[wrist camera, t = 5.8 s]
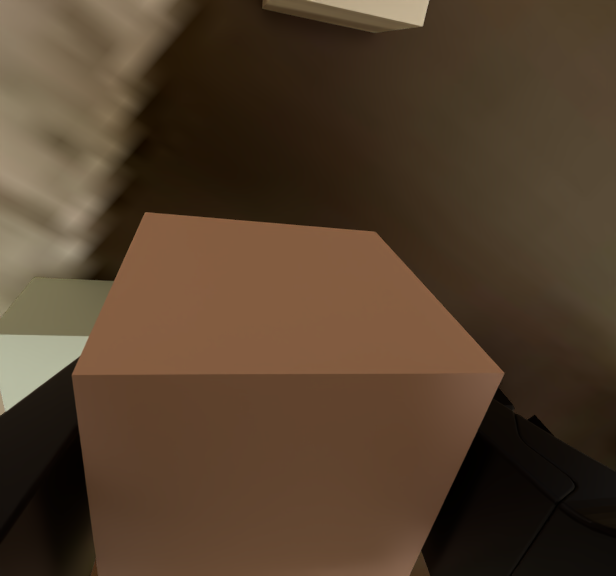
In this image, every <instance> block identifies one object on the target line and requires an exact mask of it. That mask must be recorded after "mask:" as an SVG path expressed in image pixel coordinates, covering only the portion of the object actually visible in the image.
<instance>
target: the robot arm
mask: <svg viewBox="0 0 616 576" xmlns="http://www.w3.org/2000/svg"><path fill="white" fill-rule="evenodd" d="M79 358H80V356H79V357H78V358H77V359H75V360H74V361H73V362H71V363H70V364H69V365H67V366H66V367H65V368H63V369H62V370H61V371H59V372H58V373H57V374H55V375H54V376H53V377H51V378H50V379H49V380H47V381H46V382H45V383H43V384H42V385H41V386H39V387H38V388H37V389H35V390H34V391H33V392H31V393H30V394H29V395H27V396H26V397H25V398H23V399H22V400H21V401H19V402H18V403H17V404H15V405H14V406H13V407H11V408H10V409H9V410H7V411H6V412H5V413H3V414H2V415H1V416H0V576H90V575H91V572H92V568H93V565H94V562H95V558H96V555H95V548H94V540H93V532H92V525H91V517H90V510H89V502H88V495H87V487H86V479H85V472H84V464H83V457H82V449H81V442H80V434H79V427H78V419H77V411H76V404H75V396H74V389H73V381H72V373H73V371H74V369H75V366H76V364H77V362H78V360H79ZM513 411H514V406H513V405H512V403H511V402H510V401H509V400H508V399H507V397H506V396H505V395H504V394H503V393H502V391H501V390H500V389H499V388H497V390H496V392H495V394H494V397H493V399H492V401H491V403H490V405H489V407H488V409H487V411H486V414H485V416H484V418H483V420H482V422H481V424H480V426H479V428H478V431H477V433H476V435H475V437H474V439H473V441H472V443H471V445H470V447H469V450H468V452H467V454H466V456H465V458H464V460H463V462H462V464H461V467H460V469H459V471H458V473H457V475H456V477H455V479H454V481H453V484H452V486H451V488H450V490H449V492H448V494H447V496H446V498H445V500H444V503H443V505H442V507H441V509H440V511H439V513H438V515H437V517H436V520H435V522H434V524H433V526H432V528H431V530H430V532H429V534H428V537H427V539H426V541H425V543H424V545H423V547H422V549H421V551H422V554H423V557H424V559H425V562H426V565H427V568H428V570H429V573H430V576H616V471H614V470H613V469H611V468H609V467H607V466H605V465H603V464H602V463H600V462H598V461H596V460H594V459H593V458H591V457H589V456H587V455H585V454H584V453H582V452H580V451H578V450H577V449H575V448H573V447H571V446H570V445H568V444H566V443H564V442H563V441H561V440H559V439H557V438H556V437H554V435H553V434H552V433H551V432H550V431H549V430H548V429H547V428H546V427H545V426H544V425H543V423H542V422H541V421H540V420H539V419H538V418H537V417H536V416H535V415H534V416H532V417H531V418H529V419H528V420H526V419H525V418H523V417H522V416H520V415H518V414H515V413H514V412H513Z"/></svg>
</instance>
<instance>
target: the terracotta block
mask: <svg viewBox="0 0 616 576" xmlns="http://www.w3.org/2000/svg"><path fill="white" fill-rule="evenodd" d="M503 375H504V372H503V371H502V370H501V369H500V368H499V367H498V366H497V364H496V363H495V362H494V361H493V360H492V359H491V358H490V357H489V356H488V355H487V353H486V352H485V351H484V350H483V349H482V348H481V347H480V346H479V345H478V344H477V343H476V341H475V340H474V339H473V338H472V337H471V336H470V335H469V334H468V333H467V332H466V330H465V329H464V328H463V327H462V326H461V325H460V324H459V323H458V322H457V321H456V319H455V318H454V317H453V316H452V315H451V314H450V313H449V312H448V311H447V310H446V309H445V307H444V306H443V305H442V304H441V303H440V302H439V301H438V300H437V299H436V298H435V296H434V295H433V294H432V293H431V292H430V291H429V290H428V289H427V288H426V287H425V286H424V284H423V283H422V282H421V281H420V280H419V279H418V278H417V277H416V276H415V275H414V273H413V272H412V271H411V270H410V269H409V268H408V267H407V266H406V265H405V264H404V263H403V261H402V260H401V259H400V258H399V257H398V256H397V255H396V254H395V253H394V252H393V250H392V249H391V248H390V247H389V246H388V245H387V244H386V243H385V242H384V241H383V239H382V238H381V237H380V236H379V235H378V234H377V233H376V232H372V231H361V230H349V229H337V228H325V227H313V226H302V225H290V224H278V223H266V222H254V221H243V220H231V219H219V218H207V217H196V216H184V215H172V214H160V213H148V212H145V214H144V216H143V218H142V220H141V223H140V225H139V227H138V229H137V231H136V234H135V236H134V238H133V240H132V243H131V245H130V247H129V249H128V251H127V254H126V256H125V258H124V260H123V262H122V265H121V267H120V269H119V271H118V273H117V276H116V278H115V280H114V282H113V285H112V287H111V289H110V291H109V293H108V296H107V298H106V300H105V302H104V304H103V307H102V309H101V311H100V313H99V316H98V318H97V320H96V322H95V324H94V327H93V329H92V331H91V333H90V335H89V338H88V340H87V342H86V344H85V347H84V349H83V351H82V353H81V355H80V358H79V360H78V362H77V364H76V366H75V369H74V371H73V373H72V381H73V389H74V396H75V404H76V411H77V419H78V427H79V434H80V442H81V449H82V457H83V464H84V472H85V479H86V487H87V495H88V502H89V510H90V517H91V525H92V532H93V540H94V548H95V555H96V563H97V570H98V576H409V575H410V573H411V570H412V568H413V566H414V564H415V562H416V560H417V558H418V556H419V553H420V551H421V549H422V547H423V545H424V543H425V541H426V539H427V537H428V534H429V532H430V530H431V528H432V526H433V524H434V522H435V520H436V517H437V515H438V513H439V511H440V509H441V507H442V505H443V503H444V500H445V498H446V496H447V494H448V492H449V490H450V488H451V486H452V484H453V481H454V479H455V477H456V475H457V473H458V471H459V469H460V467H461V464H462V462H463V460H464V458H465V456H466V454H467V452H468V450H469V447H470V445H471V443H472V441H473V439H474V437H475V435H476V433H477V431H478V428H479V426H480V424H481V422H482V420H483V418H484V416H485V414H486V411H487V409H488V407H489V405H490V403H491V401H492V399H493V397H494V394H495V392H496V390H497V388H498V386H499V384H500V382H501V380H502V378H503Z"/></svg>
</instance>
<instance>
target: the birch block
mask: <svg viewBox="0 0 616 576" xmlns="http://www.w3.org/2000/svg"><path fill="white" fill-rule="evenodd" d="M428 3H429V0H263V3H262V9H265V10H270V11H274V12H279V13H284V14H288V15H293V16H298V17H302V18H307V19H312V20H316V21H321V22H326V23H330V24H335V25H340V26H344V27H349V28H354V29H358V30H363V31H368V32H372V33H379V32H386V31H393V30H401V29H408V28H415V27H422V26H423V23H424V19H425V15H426V11H427V7H428Z"/></svg>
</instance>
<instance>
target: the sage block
mask: <svg viewBox="0 0 616 576" xmlns="http://www.w3.org/2000/svg"><path fill="white" fill-rule="evenodd" d="M113 282H114V281H101V280H81V279H60V278H40V277H34V278H33V279H32V281H31V282H30V283H29V284H28V285H27V287H26V288H25V289H24V290H23V291H22V293H21V294H20V295H19V296H18V298H17V299H16V300H15V301H14V302H13V304H12V305H11V306H10V307H9V308H8V310H7V311H6V312H5V313H4V315H3V316H2V317H1V318H0V391H1V395H2V400H3V404H4V408H5V412H6V411H7V410H9V409H10V408H11V407H13V406H14V405H15V404H17V403H18V402H19V401H21V400H22V399H23V398H25V397H26V396H27V395H29V394H30V393H31V392H33V391H34V390H35V389H37V388H38V387H39V386H41V385H42V384H43V383H45V382H46V381H47V380H49V379H50V378H51V377H53V376H54V375H55V374H57V373H58V372H59V371H61V370H62V369H63V368H65V367H66V366H67V365H69V364H70V363H71V362H73V361H74V360H75V359H77V358H78V357H79V356H80V355H81V353H82V351H83V349H84V347H85V344H86V342H87V340H88V338H89V335H90V333H91V331H92V329H93V327H94V324H95V322H96V320H97V318H98V316H99V313H100V311H101V309H102V307H103V304H104V302H105V300H106V298H107V296H108V293H109V291H110V289H111V287H112V285H113Z"/></svg>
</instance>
